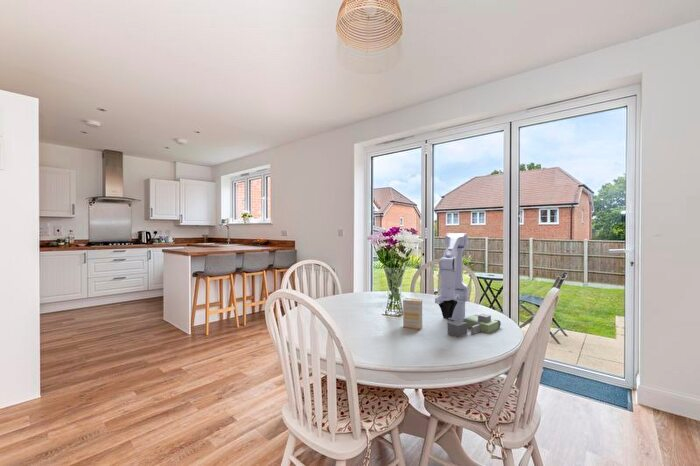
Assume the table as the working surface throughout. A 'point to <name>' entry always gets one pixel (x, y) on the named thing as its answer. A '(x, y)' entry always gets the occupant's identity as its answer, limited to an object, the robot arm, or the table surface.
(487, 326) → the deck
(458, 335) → the grey block
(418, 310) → the supplement box
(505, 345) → the table surface
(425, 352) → the table surface
